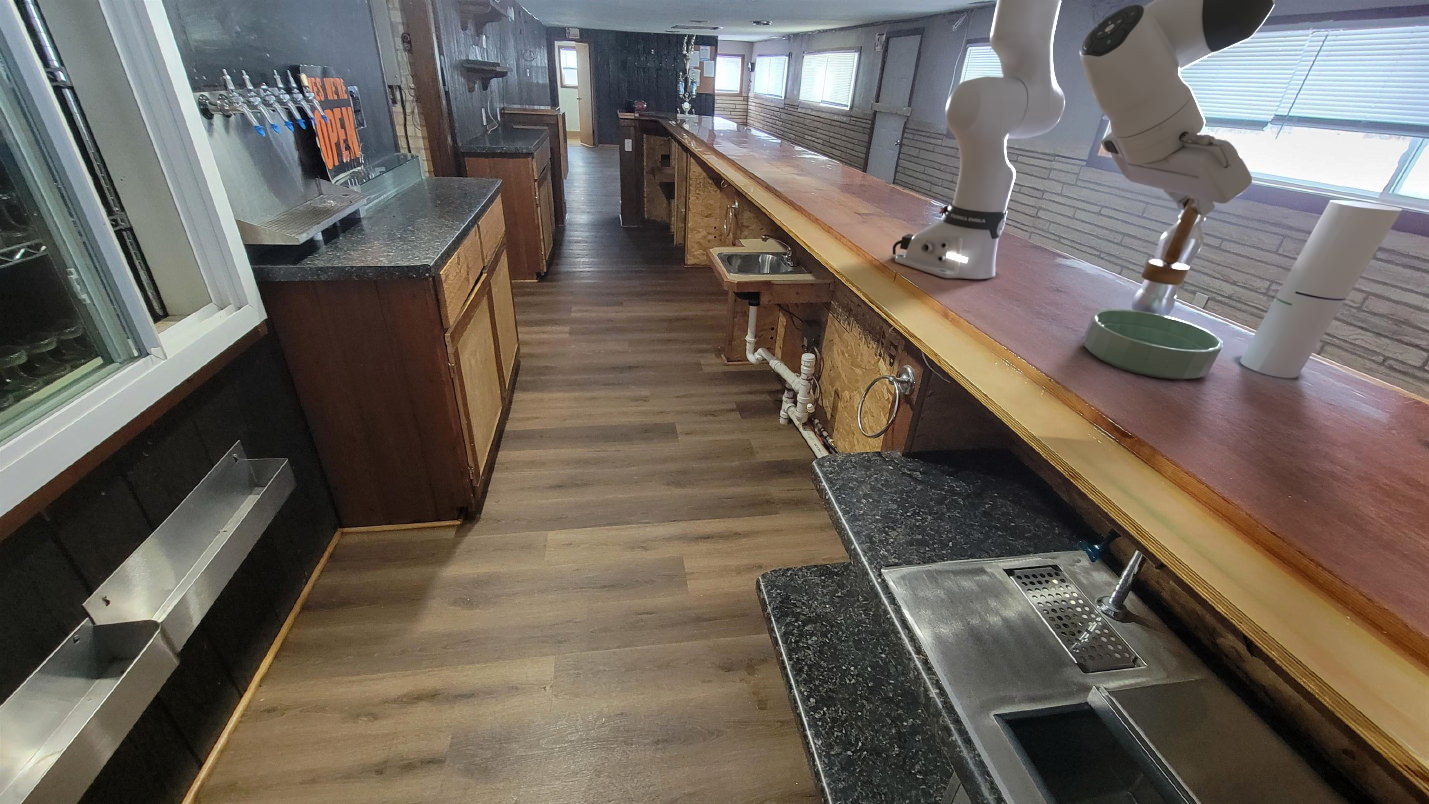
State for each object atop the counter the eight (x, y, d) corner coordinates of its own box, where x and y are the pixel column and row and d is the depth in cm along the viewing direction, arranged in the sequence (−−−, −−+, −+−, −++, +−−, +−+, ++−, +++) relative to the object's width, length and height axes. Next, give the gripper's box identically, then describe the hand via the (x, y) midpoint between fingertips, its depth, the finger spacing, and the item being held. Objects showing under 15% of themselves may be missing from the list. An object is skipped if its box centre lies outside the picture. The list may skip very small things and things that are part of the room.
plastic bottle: (1154, 311, 111) (1202, 206, 102) (1174, 324, 106) (1227, 214, 96) (1120, 309, 112) (1164, 204, 102) (1139, 321, 106) (1188, 211, 96)
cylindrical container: (1285, 381, 86) (1390, 211, 73) (1231, 362, 91) (1320, 201, 79) (1306, 373, 89) (1411, 208, 76) (1252, 355, 94) (1342, 199, 82)
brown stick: (1137, 278, 86) (1192, 148, 77) (1145, 272, 89) (1199, 147, 80) (1178, 287, 83) (1240, 152, 74) (1185, 280, 86) (1245, 151, 77)
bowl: (1067, 354, 91) (1078, 325, 89) (1097, 328, 102) (1108, 302, 99) (1197, 393, 81) (1213, 362, 78) (1215, 360, 92) (1230, 331, 89)
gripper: (1247, 117, 66) (1284, 208, 71) (1134, 110, 83) (1170, 182, 88) (1191, 157, 68) (1231, 242, 73) (1093, 141, 86) (1130, 211, 91)
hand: (1197, 209), depth 81 cm, fingers closed on brown stick
